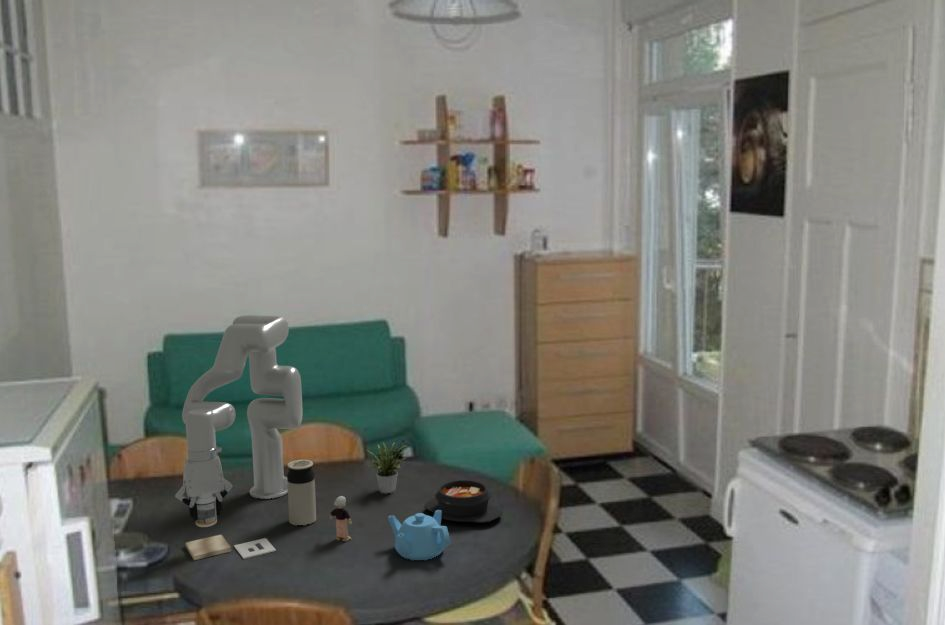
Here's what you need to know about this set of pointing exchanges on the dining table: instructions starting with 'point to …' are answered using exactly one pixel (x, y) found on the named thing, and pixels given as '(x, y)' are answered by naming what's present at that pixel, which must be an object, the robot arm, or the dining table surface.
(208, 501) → the pill bottle
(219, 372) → the robot arm
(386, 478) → the house plant
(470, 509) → the casserole
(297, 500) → the travel mug
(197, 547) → the coaster
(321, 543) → the dining table surface
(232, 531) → the dining table surface
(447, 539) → the teapot
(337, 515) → the grandmother figurine
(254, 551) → the tile
